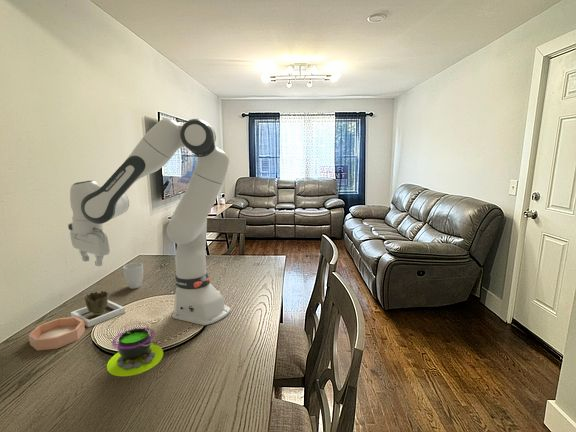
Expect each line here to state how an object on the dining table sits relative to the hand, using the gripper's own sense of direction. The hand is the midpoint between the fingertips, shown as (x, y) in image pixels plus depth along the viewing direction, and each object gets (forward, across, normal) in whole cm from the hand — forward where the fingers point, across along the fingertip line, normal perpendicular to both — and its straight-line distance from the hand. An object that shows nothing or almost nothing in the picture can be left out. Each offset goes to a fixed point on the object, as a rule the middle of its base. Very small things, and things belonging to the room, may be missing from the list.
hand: (92, 263), depth 115 cm
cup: (+20, +14, -23) cm, 34 cm away
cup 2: (+20, 0, 0) cm, 21 cm away
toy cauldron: (+20, -37, +8) cm, 43 cm away
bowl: (+20, -5, +15) cm, 26 cm away
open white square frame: (+20, 0, 0) cm, 20 cm away
